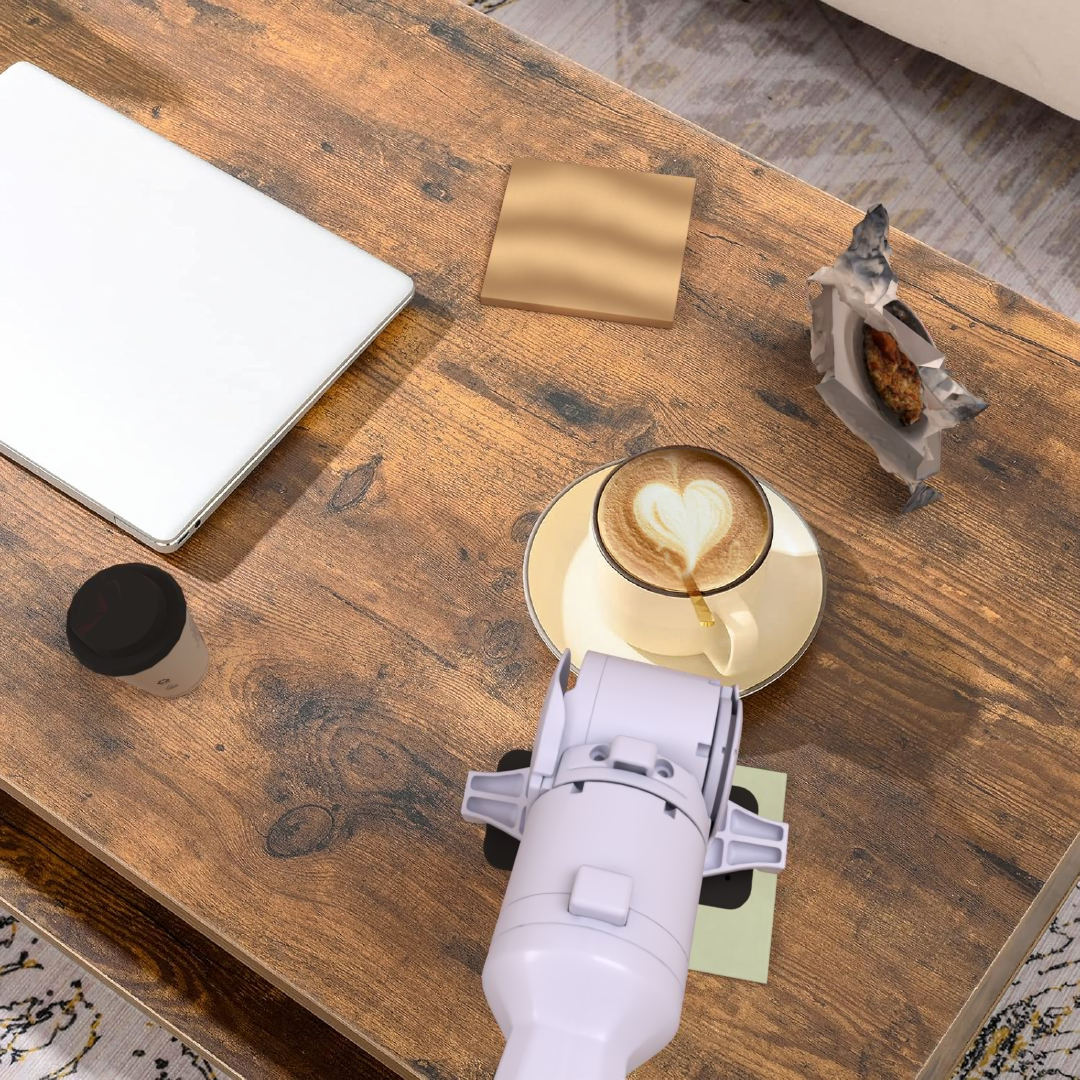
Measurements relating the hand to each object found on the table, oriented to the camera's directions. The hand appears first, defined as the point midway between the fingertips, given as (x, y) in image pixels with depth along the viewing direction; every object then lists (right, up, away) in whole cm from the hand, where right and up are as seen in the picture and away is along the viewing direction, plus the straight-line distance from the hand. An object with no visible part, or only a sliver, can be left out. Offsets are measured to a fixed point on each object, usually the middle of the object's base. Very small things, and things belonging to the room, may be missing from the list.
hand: (618, 850), depth 60 cm
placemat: (+5, -3, +8) cm, 10 cm away
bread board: (0, +38, +26) cm, 46 cm away
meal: (+18, +24, +20) cm, 36 cm away
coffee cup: (-27, +8, +14) cm, 32 cm away
